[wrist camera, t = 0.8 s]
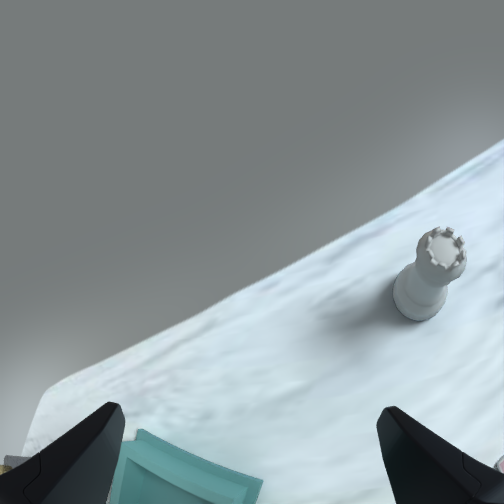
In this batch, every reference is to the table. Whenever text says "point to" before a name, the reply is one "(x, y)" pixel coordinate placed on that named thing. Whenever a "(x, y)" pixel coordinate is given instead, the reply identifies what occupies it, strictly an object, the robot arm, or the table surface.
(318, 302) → the table surface
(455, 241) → the rook chess piece
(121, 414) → the robot arm
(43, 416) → the table surface
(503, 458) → the smartphone
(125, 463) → the socket
